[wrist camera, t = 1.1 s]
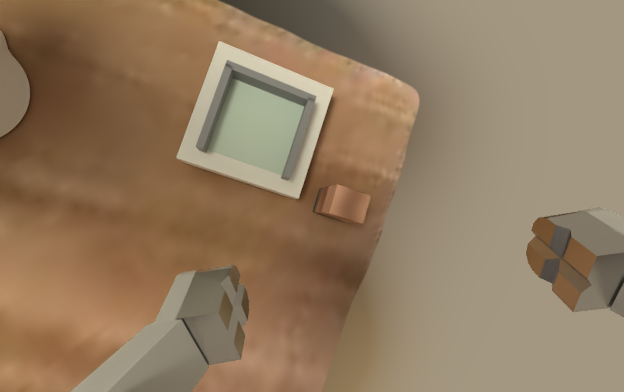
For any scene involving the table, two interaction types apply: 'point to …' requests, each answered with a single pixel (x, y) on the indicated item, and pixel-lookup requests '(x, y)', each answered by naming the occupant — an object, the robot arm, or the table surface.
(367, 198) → the block
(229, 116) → the bay dock
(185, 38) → the table surface
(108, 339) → the table surface
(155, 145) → the table surface
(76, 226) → the table surface
